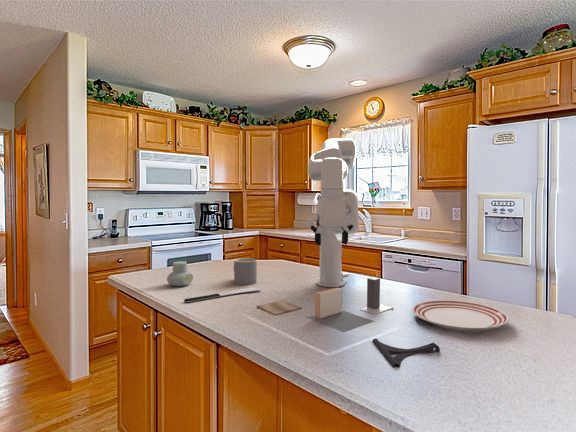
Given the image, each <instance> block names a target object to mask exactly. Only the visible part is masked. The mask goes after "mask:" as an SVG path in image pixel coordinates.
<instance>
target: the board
mask: <svg viewBox="0 0 576 432" xmlns="http://www.w3.org/2000/svg"><path fill="white" fill-rule="evenodd" d="M256 309H260V310H262V311H265V312H267V313H268V314H272V315H274V316H279V315H282V314H286V313H290V312H294V311H297V310H302V306H298V305H295V304H293V303H290V302H288V301H286V300H282V299H280V300H277V301H273V302H267V303H264V304H259V305H256Z"/></svg>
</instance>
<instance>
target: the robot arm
mask: <svg viewBox="0 0 576 432" xmlns="http://www.w3.org/2000/svg"><path fill="white" fill-rule="evenodd" d="M356 158H357V145H356V143H355V140H353V139H352V138H329V139H326V140H324V142H322V144H321V149H320V150H319V151H317V152H314V153H313V154H312V155H311V156H310V157H309V161H308V165H307V174H308V178H310V180H312V181H315V182H320V198H318V200H317V203H316V211H315V212H316V213H315V216H312V217H311V218H309V219H307V221H306V222H307V224H308V227H309V228H310V230H311V231H312V232H313V233H314V243H315V245H316V246H319V278H318V279H316V280H315V284H316V285H317V286H320V287H324V288H325V287H326V288H340V287H344V285H346V281H345V280H344V278H348V277H349V276H350V275H349V273H348V272H342V268H343V267H342V263H343V262H342V260H343V258H342V255H343V254H342V253H343V251H342V249H343V246H342V244H343V245H348V242H349V235H354V234H356V233H357V232H358V230H359V227H360V226H359V221H360V220H359V219H360V218H359V200H358V194H357V192H356V191H355V190H352V189H344V180H345V179H346V177H347V176H348V175H349V174H348V173H349V170H352V169H353V168H354V166H355V162H356ZM314 222H315V225H316V226H314ZM337 235H341V240H340V239H339V238H338V237H337Z"/></svg>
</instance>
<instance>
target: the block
mask: <svg viewBox="0 0 576 432" xmlns="http://www.w3.org/2000/svg"><path fill="white" fill-rule="evenodd" d="M314 301H315V302H314V315H315V318H318V319H322V318H325V317H328V316H332V315H335V314H339V313H342V310H343V288H340V287H332V288H330V289H325V290H321V291H317V292H316V291H315V293H314Z"/></svg>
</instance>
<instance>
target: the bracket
mask: <svg viewBox="0 0 576 432" xmlns="http://www.w3.org/2000/svg"><path fill="white" fill-rule="evenodd" d="M373 343H374V344H373ZM372 344H373V345H374V346H375V348H376V349H377V348H378V349H377V350H378V351H379V353H381V355H382V356H383V357H384V359H385V360H386V361H387V362H388V363H389V364H390V366H391V367H392V368H395V366H397V368H400V367H401V363H402V361H403V360H404V359H406V358H407V357H409V356H411V355H415V354H434V353H440V352H441V348H440V346H439V345H438V344H437V343H435V342H431V343H428V344H425V345H421V346H418V347H412V348H403V347H402V348H401V347H395V346H391V345H388V344H386V343H383V342H381V341H380V340H379V339H378V338H374V339H372ZM392 355H393V356H392Z"/></svg>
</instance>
